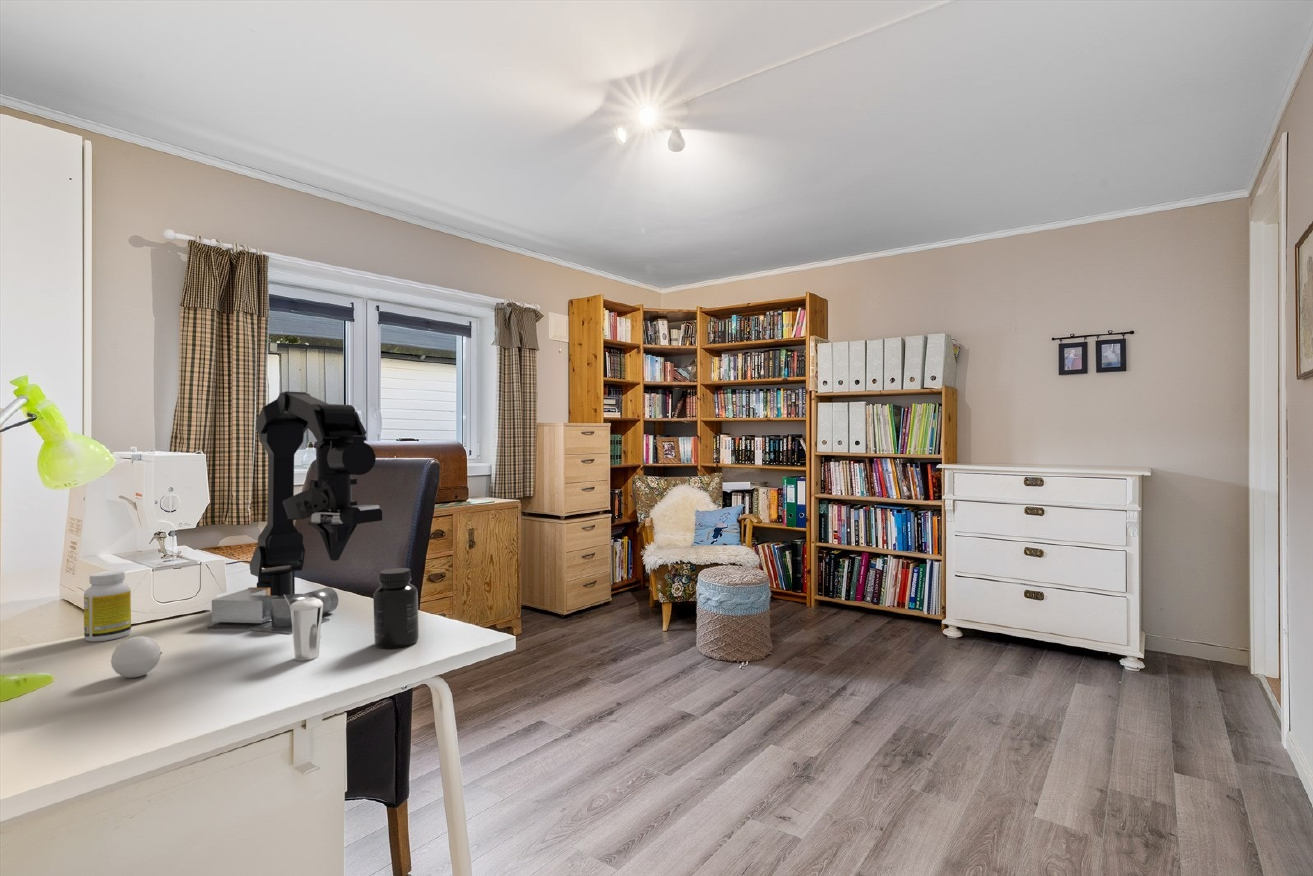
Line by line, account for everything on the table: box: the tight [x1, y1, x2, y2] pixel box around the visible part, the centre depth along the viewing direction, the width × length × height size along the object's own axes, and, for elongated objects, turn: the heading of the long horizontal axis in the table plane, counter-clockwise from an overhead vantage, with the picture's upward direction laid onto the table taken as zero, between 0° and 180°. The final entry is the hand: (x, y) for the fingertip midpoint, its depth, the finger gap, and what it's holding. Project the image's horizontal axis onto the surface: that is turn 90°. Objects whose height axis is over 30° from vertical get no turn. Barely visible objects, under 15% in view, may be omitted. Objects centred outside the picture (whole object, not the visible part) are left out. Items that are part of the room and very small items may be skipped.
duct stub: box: [249, 586, 339, 635], centre depth 121 cm, size 14×9×5 cm, turn 164°
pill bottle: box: [83, 570, 132, 643], centre depth 112 cm, size 6×6×11 cm
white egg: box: [110, 635, 163, 679], centre depth 94 cm, size 8×6×6 cm
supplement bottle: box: [372, 567, 420, 650], centre depth 107 cm, size 7×7×12 cm
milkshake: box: [284, 594, 323, 662], centre depth 100 cm, size 5×5×10 cm
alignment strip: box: [207, 620, 271, 629], centre depth 119 cm, size 10×4×1 cm, turn 89°
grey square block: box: [211, 586, 278, 623], centre depth 122 cm, size 10×10×4 cm
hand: (334, 560), depth 117 cm, fingers closed
